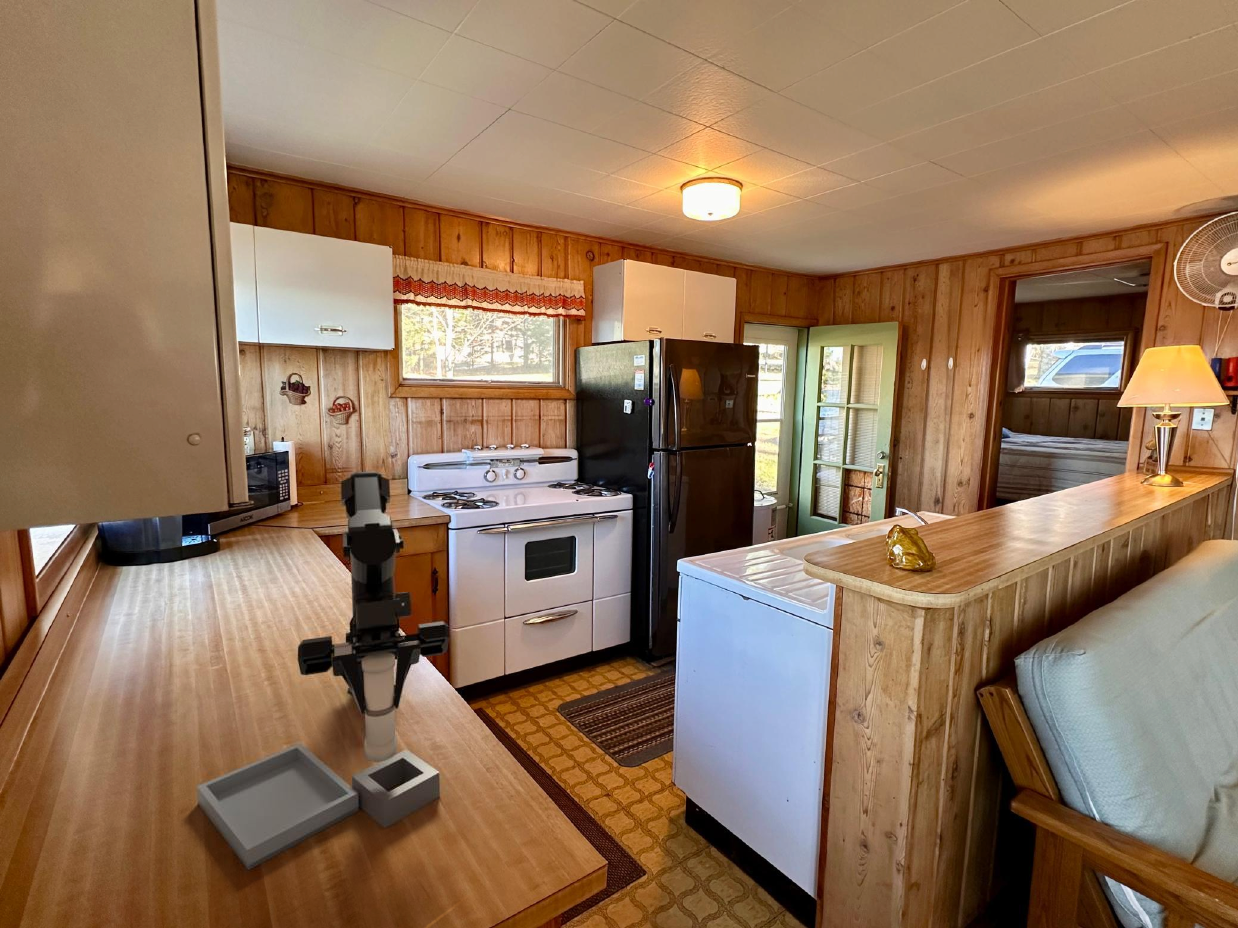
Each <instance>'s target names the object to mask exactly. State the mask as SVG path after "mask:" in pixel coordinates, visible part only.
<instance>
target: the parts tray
mask: <svg viewBox="0 0 1238 928" xmlns="http://www.w3.org/2000/svg"><path fill="white" fill-rule="evenodd" d="M196 789H197V790H196V792H197V804H198V806H199V807H200V808H201V810H202V811H203V812H204V813H205V815H206V816H207V818H208V819H209V820H210V822H211V823H212V824H213V826H214V827H215V828H216V829H217V831H218V832H219V834H220V835H221V836H222V838H224V840H225V841H226V843H227V844H228V845H229V847H230V848H231V849H232V851H234V853H235V855H236V856H237V857H238V858H239V860H240V861H241V862H242V864H243V865H244V866H245V868H246V869H247V870H248V871H250V870H252V869H253V868H255V867H257V866H259V865H260V864H263V863H264V862H266V861H269V860H270V859H271V858H273V857H275V856H278V855H279V854H282V853H283V852H285V851H287V850H289V849H291V848H292V847H294V846H296V845H298V844H299V843H302V842H304V841H305V840H307V839H309V838H311V837H313V836H315V835H316V834H318V833H320V832H322V831H324V830H326V829H327V828H330V827H332V826H333V825H335V824H337V823H339V822H341V821H342V820H345V819H346V818H348V817H350V816H352V815H354V814H355V813H358V812H359V810H360V809H359V808H360V806H359V805H358V792H356V791H355V790H354V789H353V788H352V786H351V785H349V784H348V783H347V782H346V781H345V780H344V779H343V778H342V777H341V776H339V775H338V774H337V773H336V772H335V771H333V770H332V768H330V767H329V766H328V765H326V764H325V763H324V762H323V761H322V760H321V759H319V758H318V757H317V756H316V755H315V754H314V753H313V752H311V751H310V750H309V749H308V748H307V747H305V745H303V744H302V743H301V742H298V743H297V744H294V745H292V746H289V747H287V748H285V749H283V750H279V751H278V752H276V753H273V754H271V755H269V756H266V757H263V758H261V759H259V760H256V761H254V762H252V763H249V764H247V765H244V766H242V767H240V768H237V769H235V770H232V771H230V772H228V773H226V774H222V775H221V776H218V777H216V778H212V779H211V780H209V781H206V782H204V783H202V784H201V783H200V784H199V785H197V786H196Z"/></svg>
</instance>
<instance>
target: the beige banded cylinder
mask: <svg viewBox="0 0 1238 928" xmlns="http://www.w3.org/2000/svg"><path fill="white" fill-rule="evenodd" d="M395 666H396V660H395V655H394V654H392V653H388V652H379V653H373V654H370V655H368V656H366V657H364V658H363V659H362V670H363V671H364V697H365V702H364V705H365V714H364V718H365V719H364V721H365V725H364V726H365V738H364V758H365V760H366V761H368V762H373V763H380V762H382V761H385V760H388V759H390V758H392V757H393V756H394V755H396V754H398V735H397V733H396V718H395V717H396V713H395V711H396V709H395V701H394V694H395V691H394V685H395V677H394V675H395V674H394V673H395V671H394V670H395V669H394V667H395Z"/></svg>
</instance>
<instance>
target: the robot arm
mask: <svg viewBox="0 0 1238 928" xmlns="http://www.w3.org/2000/svg"><path fill="white" fill-rule="evenodd" d="M340 501H341V502H340V503H341V507H344V506H345V514H346V515H345V516H346V518H347V531H345V532H344V531H343V532H342V554H343V555H342V556H343V559H345V558H348V561H349V563H350V571H351V574H350V576H351V577H350V578H351V580H350V581H351V602H352V603H351V604H352V605H351V606H352V607H351V609H352V617H351V618H350V621H349V632H345V642H341V643H333V638H332V637H333V636H332V635H328V636H321V637H316V638H306V639H303V640H302V641H301V642H300V643H299V644H298V646H297V664H298V667H299V673H300V675H302V676H309V675H310V676H311V675H316V674H323V673H328V672H329V671H330V670H331V669H332V674H333V676H334V677H341V678H342V679H343V680H344V681H345V684H346V685H347V686H348V688H347V692H348V694H349V693H350V694H351V695H352V696H353V698H354V701H355V703H356V705H357V707H358V710H359V713H360V715H362V716H365V697H364V671H363V670H362V659H363V658H364V657H366V656H368V655H370V654H373V653H379V652H388V653H392V654H394V655H395V661H396V670H395V680H394V701H395V710H396V709H399V706H400V702H401V699H402V694H403V689H404V686H405V682H406V680H407V676H408V674H409V672H410V669H411V667H412V665H416V664H417V665H418V663H419V662H420V657H423V658H426V657H432V656H438V655H444V654H445V653H447V650H448V646H449V643H450V637H451V636H450V629H449V625H448V624H447V623H446V622H444V620H442V621H435V622H428V623H419V624H418V625H417V631H416V633H411V634H403V635H401V633H400V619H401V618H410V617H411V615H412V605H411V604H412V602H411V593H410V591H406V592H404V591H403V592H397V593H396V589H395V577H394V573H395V569H396V554H400V553H401V552H400V551H401V550H402V549H404V539H403V537H402V535H401V534H400V533H399V531H398V528H394V527H393V522H392V521H393V520H392V517H391V516H389V515H388V514H387V512H386V511H387V504H390V502H391V485H390V479H389V478H386V477H384V476H382V473H381V472H378V471H377V470H376V471H355V472H353V473H350V477H348V478H346V479H343V480H342V481H340Z"/></svg>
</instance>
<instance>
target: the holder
mask: <svg viewBox="0 0 1238 928" xmlns="http://www.w3.org/2000/svg"><path fill="white" fill-rule="evenodd" d="M440 779H441V778H440V771H438V770H437V769H436V768H434V767H433V766H431V765H430V764H428V763H427V762H425V761H424V760H423V759H421V758H420V757H419V756H417V755H415V754H414V753H412V752H411V751H410V750H409V749H405V750H402V751H400V752H397V753H396V754H395V755H394V756H393V757H392V758H390V759H388V760H385V761H381V762H376V764H374V765H371V766H369V767H368V768H366V769H364V770H361V771H359V772H357V773H355V774H353V775H351V785H352V786H351V787H352V788H353V789H354V790H355V791H356V792H358V805H359V808H361V809H362V810H363V811H364V812H366V814H368V815H369V816H370V817H371V818H372V819H373V820H374V821H375V822H377V823H378V824H379V825H380V826H381V827H382V828H383V829H386V828H388V827H390V826H392V825H393V824H395V823H397V822H399V821H401V820H402V819H404V818H406V817H407V816H408V815H411V814H413V813H414V812H415V811H417V810H419V809H421V808H423V807H424V806H426V805H427V804H429V803H431V802H432V801H434V800H436V799H437V798H439V797H441V793H440V791H441V788H440V786H441V785H440V781H441V780H440ZM402 782H404V783H403V784H401V783H402ZM398 784H401V785H399V786H397V785H398ZM395 786H397V787H396V788H394V789H391V788H393V787H395ZM390 789H391V790H390ZM387 790H390V791H387Z"/></svg>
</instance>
